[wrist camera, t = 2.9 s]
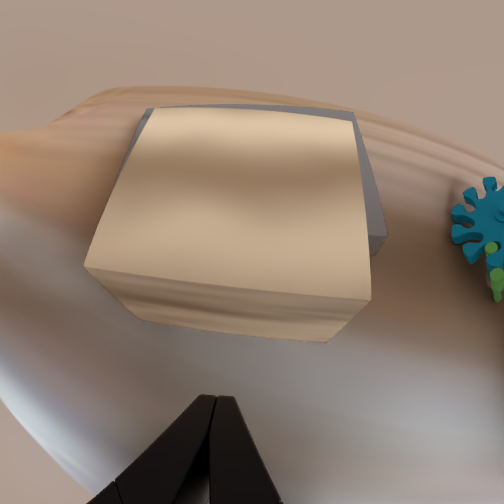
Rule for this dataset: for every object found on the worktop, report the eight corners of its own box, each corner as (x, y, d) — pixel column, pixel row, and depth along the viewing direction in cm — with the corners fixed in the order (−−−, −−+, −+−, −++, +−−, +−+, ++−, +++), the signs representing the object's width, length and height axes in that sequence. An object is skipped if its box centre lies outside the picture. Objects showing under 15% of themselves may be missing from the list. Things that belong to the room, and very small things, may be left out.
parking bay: (374, 255, 19) (388, 236, 17) (114, 248, 20) (99, 228, 17) (347, 133, 25) (353, 112, 23) (152, 130, 25) (146, 108, 23)
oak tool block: (325, 343, 17) (371, 300, 10) (140, 320, 18) (82, 266, 11) (327, 203, 22) (352, 121, 15) (177, 189, 22) (154, 108, 16)
